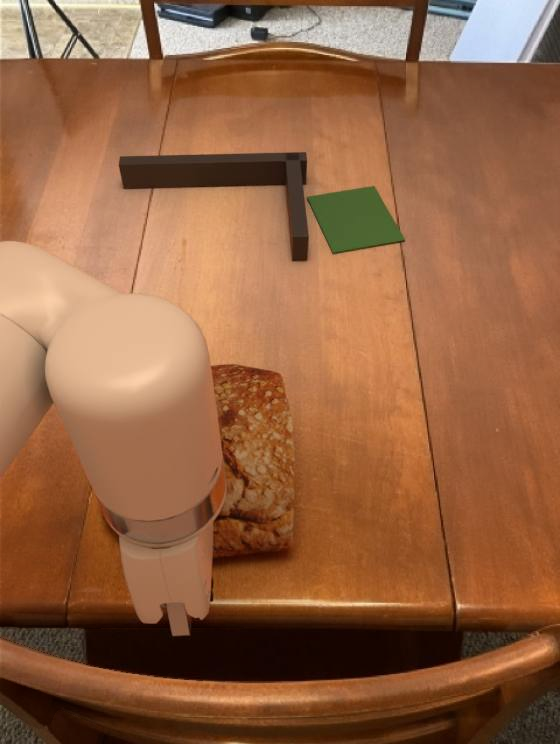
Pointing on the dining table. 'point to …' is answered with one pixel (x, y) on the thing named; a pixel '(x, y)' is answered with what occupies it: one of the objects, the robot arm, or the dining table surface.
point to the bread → (254, 462)
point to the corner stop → (228, 179)
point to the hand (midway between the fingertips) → (193, 593)
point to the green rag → (354, 219)
